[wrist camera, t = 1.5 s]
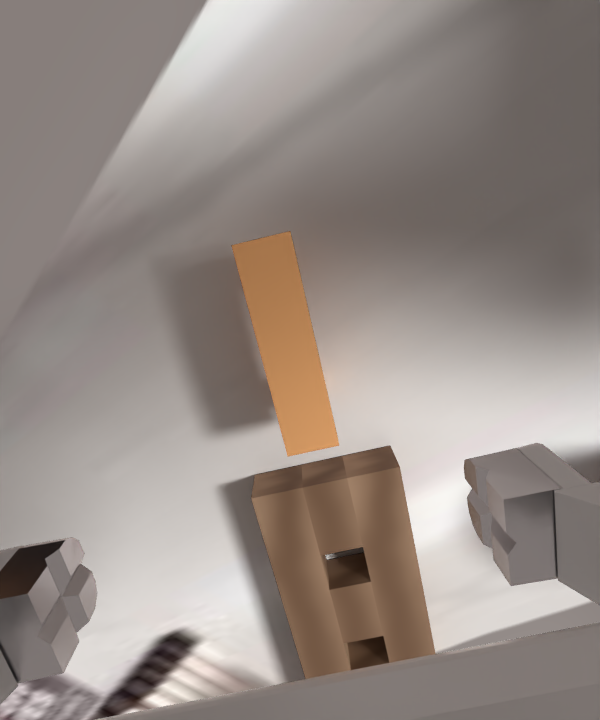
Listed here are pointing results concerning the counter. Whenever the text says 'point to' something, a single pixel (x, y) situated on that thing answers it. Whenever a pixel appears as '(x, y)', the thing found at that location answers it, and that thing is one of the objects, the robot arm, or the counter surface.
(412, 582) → the rail
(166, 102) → the counter surface
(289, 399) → the orange piece
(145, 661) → the counter surface
